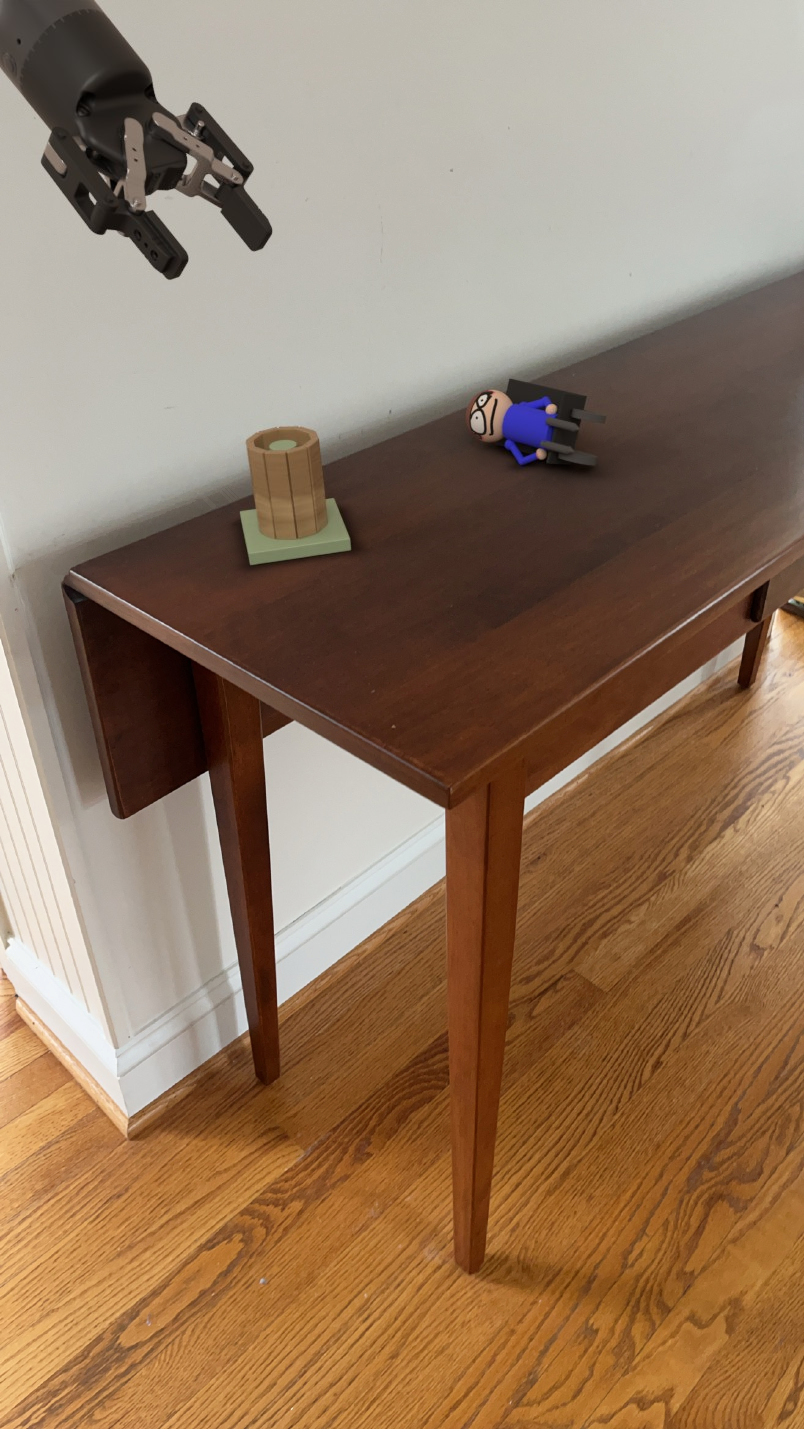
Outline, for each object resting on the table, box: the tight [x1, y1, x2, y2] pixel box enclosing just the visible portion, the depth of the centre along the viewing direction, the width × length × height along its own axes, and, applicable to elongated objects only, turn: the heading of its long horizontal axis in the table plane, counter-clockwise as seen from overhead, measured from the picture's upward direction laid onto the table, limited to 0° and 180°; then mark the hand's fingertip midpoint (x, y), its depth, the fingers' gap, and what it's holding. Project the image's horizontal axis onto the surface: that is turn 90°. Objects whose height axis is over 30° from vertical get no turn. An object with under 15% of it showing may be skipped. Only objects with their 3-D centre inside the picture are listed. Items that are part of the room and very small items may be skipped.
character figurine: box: [465, 377, 607, 466], centre depth 103 cm, size 8×7×15 cm
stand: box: [239, 440, 352, 566], centre depth 91 cm, size 9×9×9 cm
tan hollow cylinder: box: [245, 425, 328, 539], centre depth 91 cm, size 6×6×8 cm
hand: (224, 255), depth 68 cm, fingers open, 8 cm apart
